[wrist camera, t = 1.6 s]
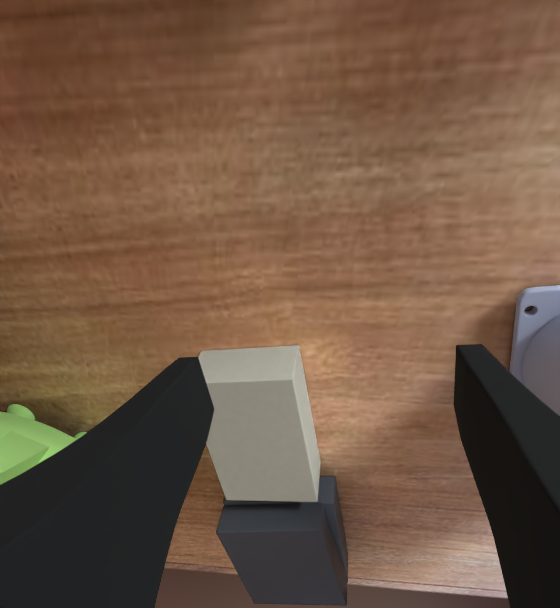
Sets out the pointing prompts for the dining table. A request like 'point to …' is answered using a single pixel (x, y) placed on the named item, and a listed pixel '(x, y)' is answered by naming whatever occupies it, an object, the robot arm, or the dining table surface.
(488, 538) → the dining table surface
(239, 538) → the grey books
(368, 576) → the dining table surface
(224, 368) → the white book
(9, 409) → the teapot
